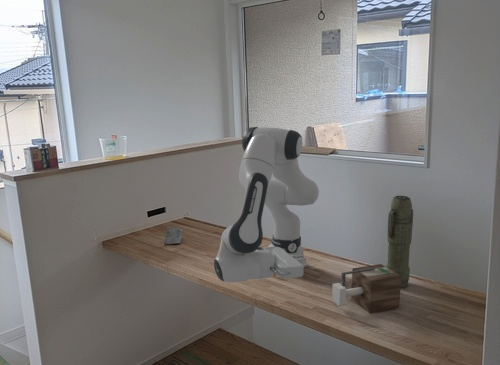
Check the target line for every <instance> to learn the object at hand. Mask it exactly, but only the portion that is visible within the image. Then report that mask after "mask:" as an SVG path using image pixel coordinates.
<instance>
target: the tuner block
mask: <svg viewBox="0 0 500 365" xmlns="http://www.w3.org/2000/svg"><path fill="white" fill-rule="evenodd" d="M370 268H374V269H375V270H372V271H365V272H359V273H352V275H351V276H352V277H351V288H358V287H363V288H364V291H363V294H359V295H353V296H350V298H351V300H352V301H353V303H355V304H356V305H357V306H359V307H361V309H363V310H364V311H365V312H367V313H368V314H370V315H372V314H377V313H382V312H386V311H387V312H388V311H393V310H398V309H399V310H400V305H401V304H400V303H401V290H402V289H401V276H400V275H399V274H397V273H395V272H394V271H392V270H390V269H389V268H387V267H386V266H385V265H383V264H381V263H380V264H373V265H367V266H358V267H353V268H352V271H357V270H364V269H370Z"/></svg>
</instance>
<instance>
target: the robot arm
mask: <svg viewBox="0 0 500 365" xmlns="http://www.w3.org/2000/svg"><path fill="white" fill-rule="evenodd" d="M303 145H304V143H303V137H302V135H301V134H300V133H299V132H298V131H296V130H293V129H290V130H289V129H285V128H279V127H258V126H253V127H252V126H251V127H248V128H247V129H246V130H245V131H244V132H243V135H242V139H241V146H242V149H243V151H244V153H243V155H242V158H241V163H240V165H239V171H238V172H239V173H238V181H239V183H240V185H241V186H242V187H243V188H244V189H245V194H244V199H243V204H242V207H241V208H242V209H241V213H240V216H239V217H238V219H237V220H236V221H235V222H234V223H233V224H231V225H228V227H226V228H225V229H224V231H223V232H222V233H221V236H220V246H219V249H218V251H217V255H216V257H215V258H214V260H213V267H214V272H215V274H216V276H217V278H218V279H219V280H220V281H221V282H224V283H240V282H241V283H242V282H246V281H249V280H262V279H268V278H269V279H270V278H273V277H274V276H275V275H276V276H278V277H279V278H282V279H293V278H294V279H296V278H302V277H303V276H304V275H305V274H304V271H305V268H307V266H308V264H307V258H306V257H305V253H304V252H305V251H304V247H303V246H301V245H302V236H301V219H300V217H299V216H298V215H297V214H296V213H294V212H293V211H291V210H290V209H289V208H288V207H287V206H300V207H301V206H309V205H314V204H315V203H316V202H317V200H318V198H319V192H320V190H319V187H318V184H317V183H316V182H315V181H314V180H312V179H310V178H309V177H307V176H306V175H305V174H304V173H303V171H302V170H301V168H300V165H299V160H298V158H299V156H301V152H302V151H303ZM272 176H273V177H272ZM265 206H266V207H267V209H268V210H269V212H270V214H271V218H272V225H273V234H272V238H271V243H270V244H269V245H268V246H264V247H262V246H261V244H262V242H263V238H264V235H263V227H262V219H263V218H262V216H263V212H264V208H265Z"/></svg>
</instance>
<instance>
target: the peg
mask: <svg viewBox="0 0 500 365" xmlns="http://www.w3.org/2000/svg"><path fill="white" fill-rule="evenodd" d="M372 270H375V269H374V268H370V269H364V270H357V271H351V270H350V271H345V272H341V273H340V276H341V278H340V282H334V283H332V286H331V288H332V290H331V291H332V292H331V293H332V294H331V295H332V296H331V300H332V301H333V302H334V303H335V304H336V305H337V306H340V307H341V306H345V305H347V304H346V300H347V298H346V297H351V296H353V295H359V294H363V291H364V288H363V287H358V288H352V287H351V288H346V287H345V286H346V275H350V274H352V273H359V272H365V271H372Z"/></svg>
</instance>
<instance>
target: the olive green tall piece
mask: <svg viewBox="0 0 500 365" xmlns="http://www.w3.org/2000/svg"><path fill="white" fill-rule="evenodd" d="M387 218H388V219H387V220H388V221H387V243H388V249H387V263H386V266H385V267H387V268H389V269H390V270H392V271H394V272H395V273H397V274H399V275H400V276H401V290H402V289H406V288H408V287H409V280H410V273H411V272H410V271H411V269H410V266H409V262H410V249H411V248H410V247H411V244H412V236H413V221H414V209H413V204H412V201H411V197H409V196H406V195H396V196H394V197H393V199H392V201H391V205H390V210H389V213H388V217H387Z"/></svg>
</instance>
